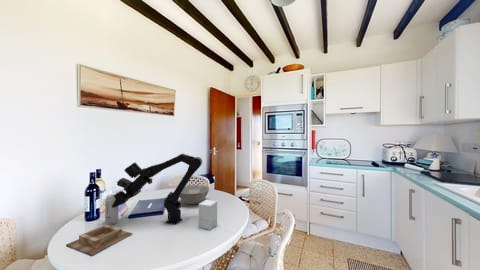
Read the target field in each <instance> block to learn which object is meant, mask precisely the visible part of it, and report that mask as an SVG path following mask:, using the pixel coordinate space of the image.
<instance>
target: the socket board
mask: <svg viewBox="0 0 480 270" xmlns="http://www.w3.org/2000/svg"><path fill="white" fill-rule="evenodd" d="M133 234H134V233H132V232H129V231H126V230H123V229H122V228H120V227H116V226H113V225H107V224H103V225H101V226H99V227H97V228H93V229H91V230H89V231H86V232H85V233H82V234H79V235H78V239H76V240H74V241H71V242H69V243H66V245H65V247H68V248H70V249H73V250H76V251H77V252H80V253H83V254H85V255H88V256H90V257H94V256H96V255H97V254H99V253H101V252H102V251H104V250H106V249H108V248H111V247H112V246H114V245H116V244H118V243H120V242H121V241H123V240H125V239H127V238H129V237H131V236H133Z"/></svg>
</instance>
